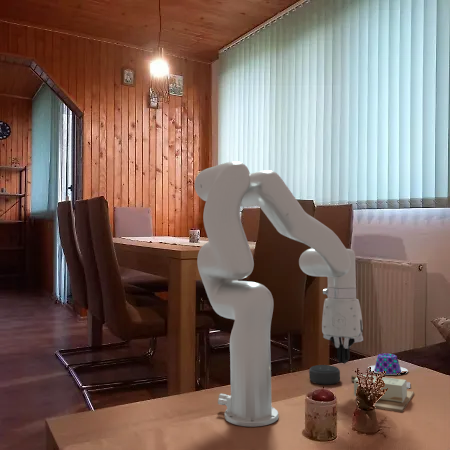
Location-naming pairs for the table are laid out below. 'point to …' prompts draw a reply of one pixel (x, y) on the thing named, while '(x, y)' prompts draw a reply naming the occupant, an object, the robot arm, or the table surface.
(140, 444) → the table surface
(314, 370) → the smart speaker
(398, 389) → the skincare box
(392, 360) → the pudding
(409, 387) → the trowel prop
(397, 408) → the beige flat slab
